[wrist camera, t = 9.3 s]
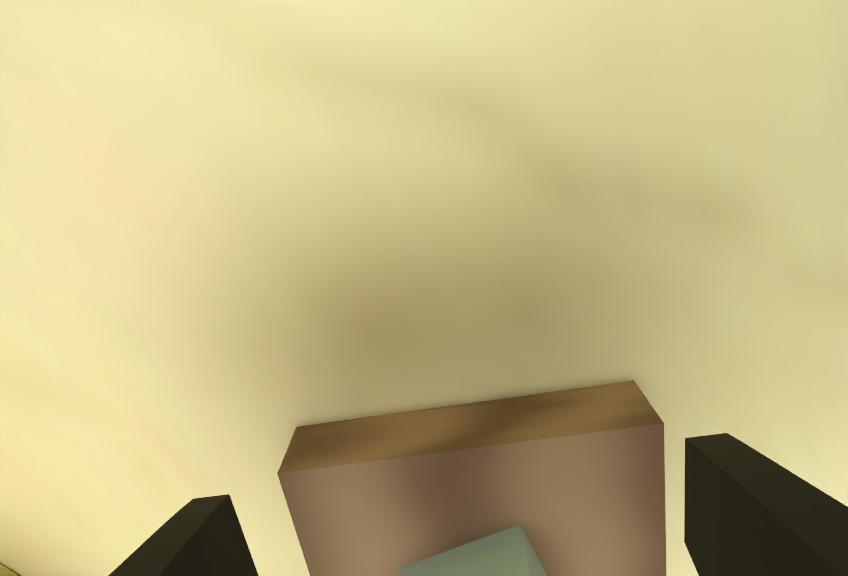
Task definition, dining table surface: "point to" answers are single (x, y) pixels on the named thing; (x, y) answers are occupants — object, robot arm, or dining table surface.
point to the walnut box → (485, 484)
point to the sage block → (483, 558)
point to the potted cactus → (6, 571)
